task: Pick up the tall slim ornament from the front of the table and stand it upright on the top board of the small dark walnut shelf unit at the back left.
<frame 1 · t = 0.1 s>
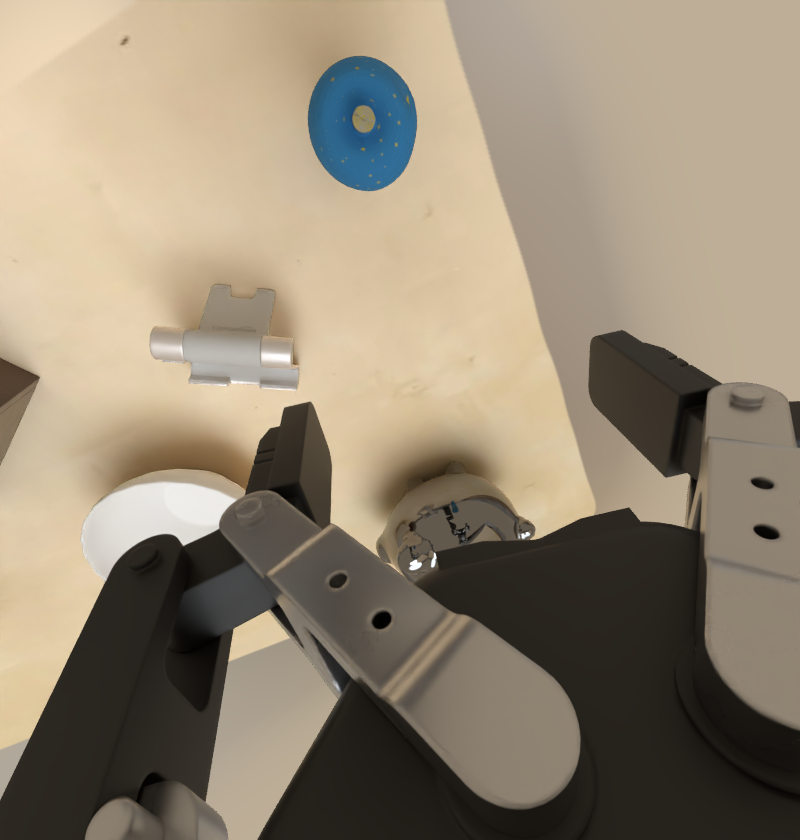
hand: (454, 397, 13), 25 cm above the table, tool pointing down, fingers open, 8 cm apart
piggy bank: (438, 491, 48), on the table
bowl: (203, 497, 45), on the table
ornament: (357, 134, 30), on the table
tablet stand: (247, 333, 36), on the table
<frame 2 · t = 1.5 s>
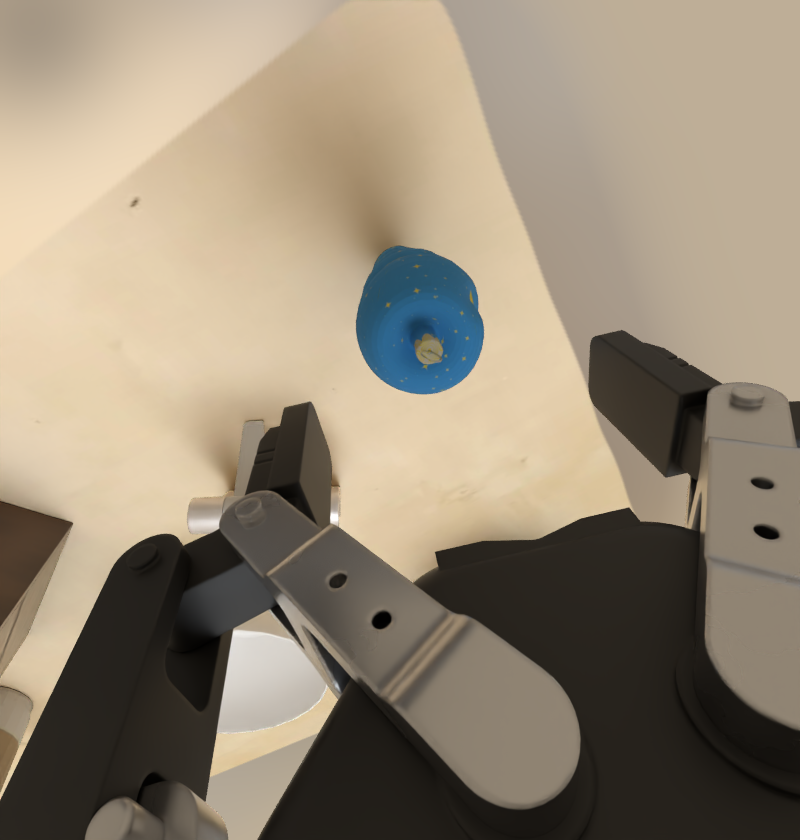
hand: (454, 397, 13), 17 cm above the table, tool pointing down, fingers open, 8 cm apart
bowl: (247, 610, 43), on the table
ornament: (391, 261, 27), on the table
tablet stand: (283, 461, 34), on the table
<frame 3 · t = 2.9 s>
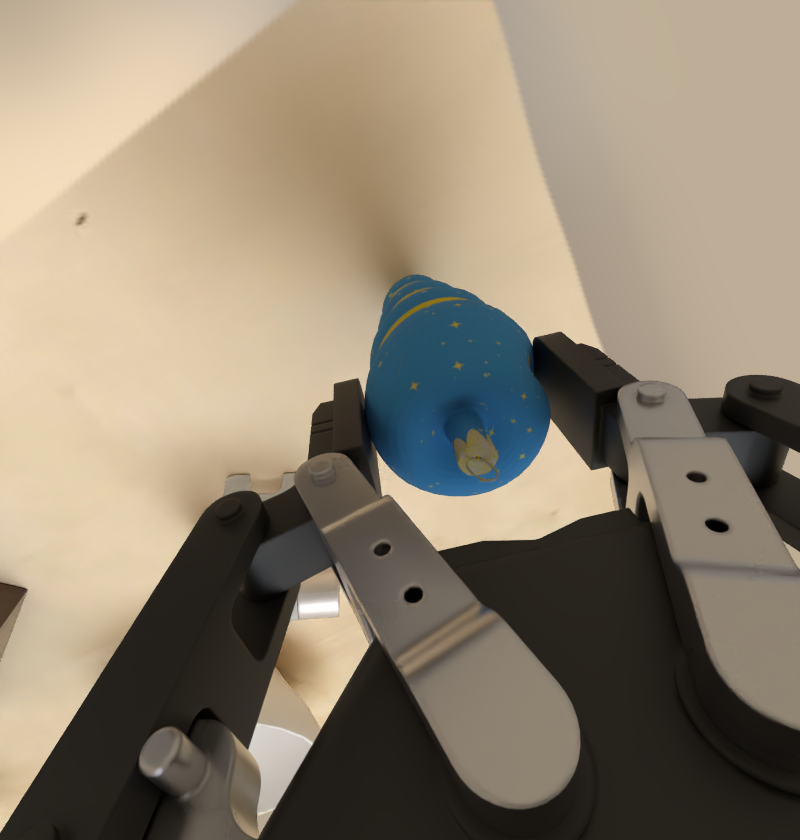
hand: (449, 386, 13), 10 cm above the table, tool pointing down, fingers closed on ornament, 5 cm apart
bowl: (235, 675, 38), on the table
ornament: (404, 290, 22), on the table, touching gripper
tablet stand: (273, 518, 29), on the table
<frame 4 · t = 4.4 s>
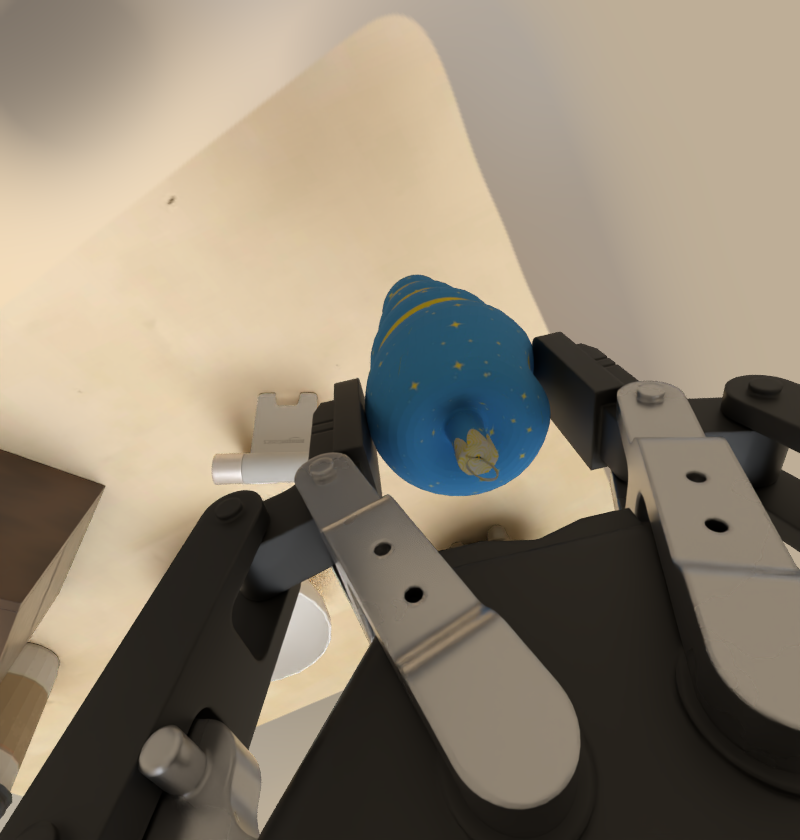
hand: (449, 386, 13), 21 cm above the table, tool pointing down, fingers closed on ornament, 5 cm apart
shelf: (14, 523, 40), on the table
coffee cup: (25, 658, 50), on the table
piggy bank: (480, 551, 49), on the table
bowl: (257, 574, 47), on the table
ornament: (404, 290, 22), point 11 cm above the table, touching gripper
tablet stand: (292, 431, 38), on the table
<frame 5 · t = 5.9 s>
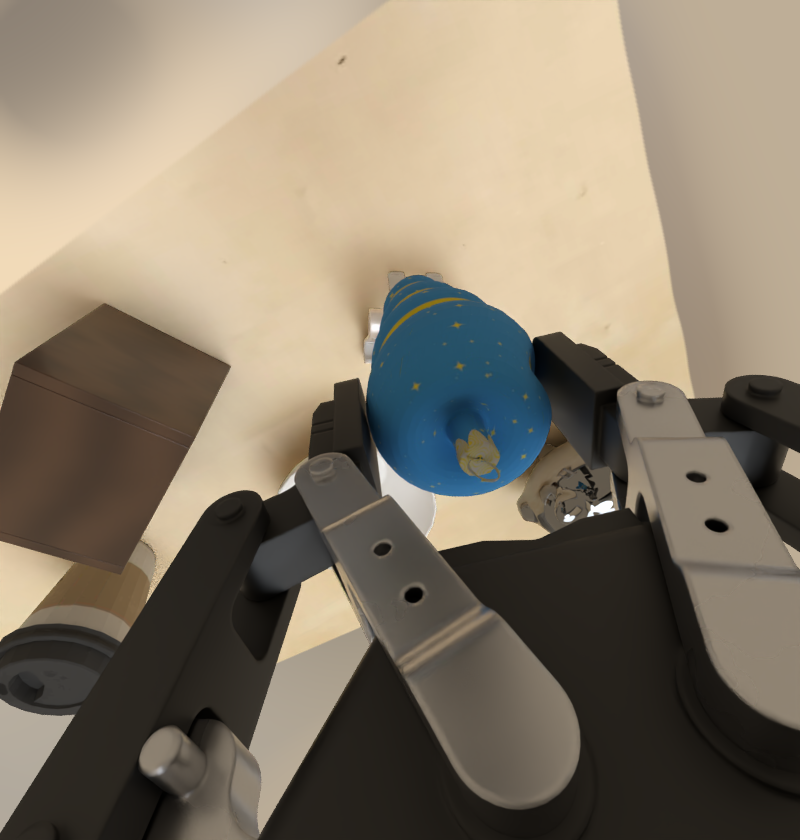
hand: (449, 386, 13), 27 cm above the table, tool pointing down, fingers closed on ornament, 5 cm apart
shelf: (140, 403, 42), on the table
coffee cup: (123, 555, 52), on the table
piggy bank: (563, 455, 51), on the table
bowl: (354, 471, 49), on the table
ornament: (405, 290, 22), point 17 cm above the table, touching gripper
tablet stand: (410, 315, 40), on the table
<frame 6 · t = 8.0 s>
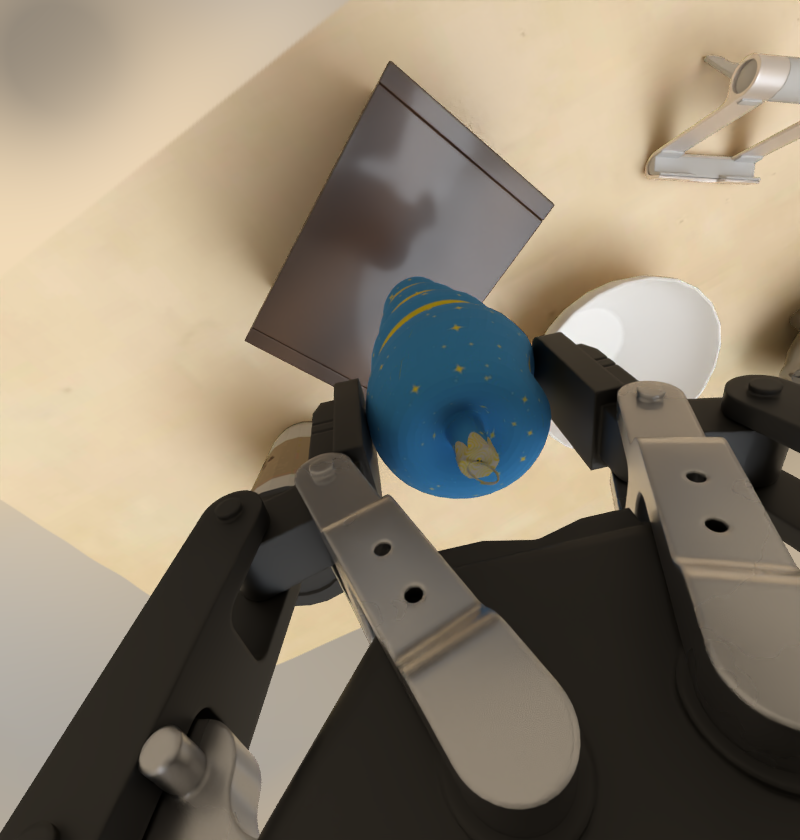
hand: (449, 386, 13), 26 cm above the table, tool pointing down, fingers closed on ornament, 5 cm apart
shelf: (378, 240, 35), on the table
coffee cup: (310, 449, 45), on the table
bowl: (585, 342, 43), on the table
ornament: (405, 291, 22), point 16 cm above the table, touching gripper
tablet stand: (708, 123, 34), on the table
when the fingers open (22 cm above the table, at t = 9.4 s): ornament stays where it is, resting on shelf.
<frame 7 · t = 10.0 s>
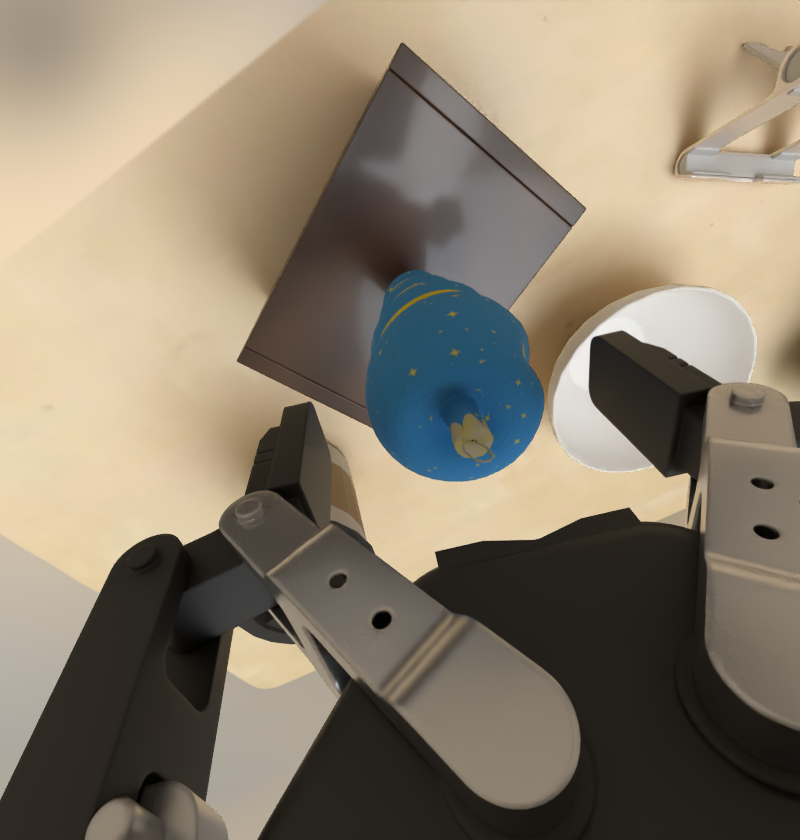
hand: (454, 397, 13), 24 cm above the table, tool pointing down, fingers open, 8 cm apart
shelf: (384, 245, 33), on the table
coffee cup: (310, 467, 43), on the table
bowl: (605, 354, 40), on the table
ornament: (404, 285, 23), point 12 cm above the table, touching shelf
tablet stand: (744, 117, 31), on the table
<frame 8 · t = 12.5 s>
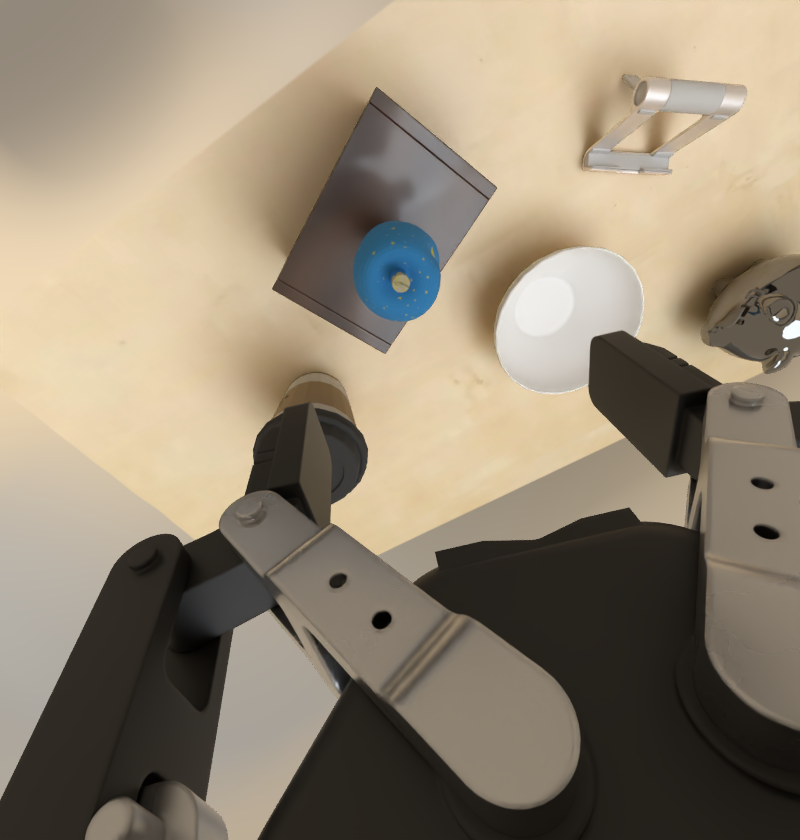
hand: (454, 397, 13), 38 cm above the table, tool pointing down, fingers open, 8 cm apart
shelf: (372, 219, 45), on the table
coffee cup: (317, 397, 55), on the table
piggy bank: (733, 295, 54), on the table
bowl: (542, 306, 52), on the table
ornament: (382, 238, 35), point 12 cm above the table, touching shelf
tablet stand: (630, 127, 43), on the table
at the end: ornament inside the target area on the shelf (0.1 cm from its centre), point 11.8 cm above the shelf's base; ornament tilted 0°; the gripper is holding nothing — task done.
